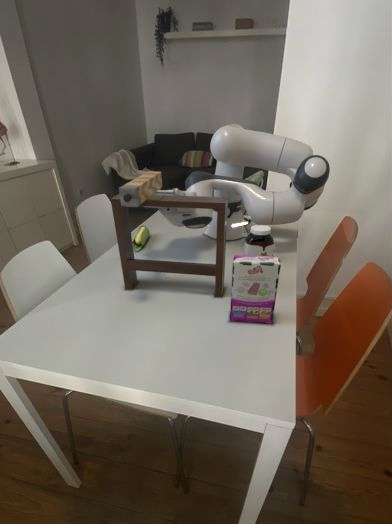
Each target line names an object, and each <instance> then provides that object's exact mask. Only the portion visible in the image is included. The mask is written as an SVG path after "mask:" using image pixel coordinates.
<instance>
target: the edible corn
mask: <svg viewBox="0 0 392 524" xmlns="http://www.w3.org/2000/svg"><path fill="white" fill-rule="evenodd" d="M150 234H151V232H150V230H149V227H147V226H146V225H141V226H140V227H139V228H138V229H137V231H136V234H135V236H134V238H133V239H132V244H133V249H135V251H136V252H138V251H140V250H141V249H142V248H143V247H144V245H145V243H146V242H147V241H148V239H149V237H150V236H151V235H150Z"/></svg>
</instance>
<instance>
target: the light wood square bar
mask: <svg viewBox="0 0 392 524" xmlns="http://www.w3.org/2000/svg"><path fill="white" fill-rule="evenodd" d="M162 188H163V178H162V171H151V170H150V171H146V172H144V173H142V174H140V175H139V176H137V177H135V178H133V179H132V180H130V181H129V182H126V183H125V184H123V185H122V186H120V187H118V192H119V193H118V194H120V200H121V206H124V207H128V208H138V207H140V206H139V205H140V204H142V203H143V202H144V201H146V200H147V199H148V198H149V197H151V196H152V195H153V194H154V193H156V192H157V191H158V190H162Z"/></svg>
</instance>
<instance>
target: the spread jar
mask: <svg viewBox="0 0 392 524" xmlns="http://www.w3.org/2000/svg"><path fill="white" fill-rule="evenodd" d="M271 232H272V227H271V226H270V225H258V224H255V225H252V226H250V231H249V233H247V234H248V235H247V237H245V239H244V244H243V255H245V256H274V255H273V253H274V251H275V248H276V243H275V239H274V237H273V235H272V233H271Z"/></svg>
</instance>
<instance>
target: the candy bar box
mask: <svg viewBox="0 0 392 524" xmlns="http://www.w3.org/2000/svg"><path fill="white" fill-rule="evenodd" d="M232 259H233V260H232V270H231V287H230V289H231V290H230V306H229V307H230V309H229V310H230V311H229V321H230V322H237V323H252V324H253V323H255V324H268V325H269V324H270V325H271V324H273V321H274V320H273V319H274V314H275V308H276V307H275V306H276V300H277V299H276V298H277V294H278V287H279V280H280V273H281V268H282V267H281V266H282V264H281V259H280V256H276V255H272V256H245V255H244V254H241V255H239V254H234V255H233V258H232Z"/></svg>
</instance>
